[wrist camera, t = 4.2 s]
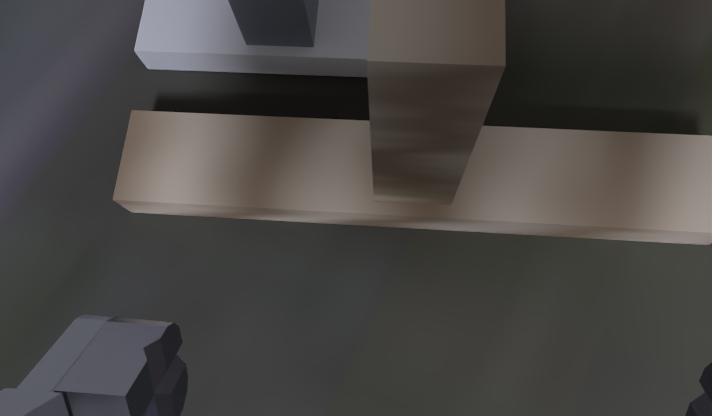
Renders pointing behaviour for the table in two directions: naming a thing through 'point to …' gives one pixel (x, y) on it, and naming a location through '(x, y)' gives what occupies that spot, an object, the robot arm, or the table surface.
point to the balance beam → (423, 152)
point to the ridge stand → (256, 36)
